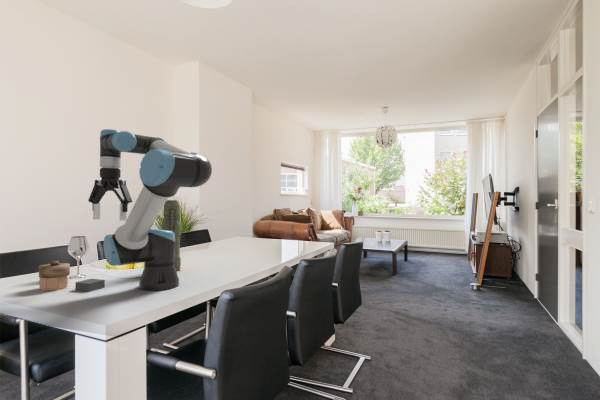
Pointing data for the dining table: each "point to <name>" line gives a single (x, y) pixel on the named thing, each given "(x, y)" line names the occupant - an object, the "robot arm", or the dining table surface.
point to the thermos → (173, 226)
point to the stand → (90, 285)
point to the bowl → (53, 283)
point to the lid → (54, 270)
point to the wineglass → (78, 250)
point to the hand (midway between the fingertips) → (109, 220)
